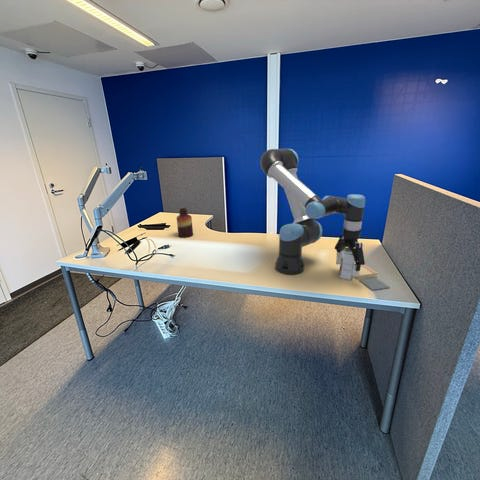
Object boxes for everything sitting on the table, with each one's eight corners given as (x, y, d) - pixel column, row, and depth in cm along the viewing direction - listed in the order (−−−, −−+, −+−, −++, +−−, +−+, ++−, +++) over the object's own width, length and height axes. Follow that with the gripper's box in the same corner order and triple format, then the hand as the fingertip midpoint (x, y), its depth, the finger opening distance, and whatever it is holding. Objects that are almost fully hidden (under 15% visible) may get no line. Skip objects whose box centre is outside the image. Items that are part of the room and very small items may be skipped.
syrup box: (340, 273, 130) (343, 246, 125) (352, 275, 127) (356, 248, 122) (338, 277, 126) (341, 250, 120) (351, 280, 123) (355, 253, 118)
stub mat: (372, 290, 114) (372, 289, 114) (359, 281, 122) (359, 280, 122) (389, 288, 116) (389, 286, 115) (375, 278, 124) (375, 277, 124)
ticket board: (358, 280, 123) (359, 275, 122) (347, 271, 131) (348, 267, 130) (376, 277, 125) (377, 272, 124) (364, 269, 133) (365, 264, 132)
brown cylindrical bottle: (181, 238, 184) (178, 211, 177) (176, 234, 193) (173, 208, 186) (195, 236, 189) (192, 209, 182) (190, 232, 198) (187, 206, 191)
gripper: (378, 236, 107) (370, 281, 114) (343, 220, 130) (338, 258, 137) (362, 238, 106) (356, 283, 113) (330, 222, 128) (326, 260, 136)
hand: (346, 269), depth 125 cm, fingers open, 13 cm apart
